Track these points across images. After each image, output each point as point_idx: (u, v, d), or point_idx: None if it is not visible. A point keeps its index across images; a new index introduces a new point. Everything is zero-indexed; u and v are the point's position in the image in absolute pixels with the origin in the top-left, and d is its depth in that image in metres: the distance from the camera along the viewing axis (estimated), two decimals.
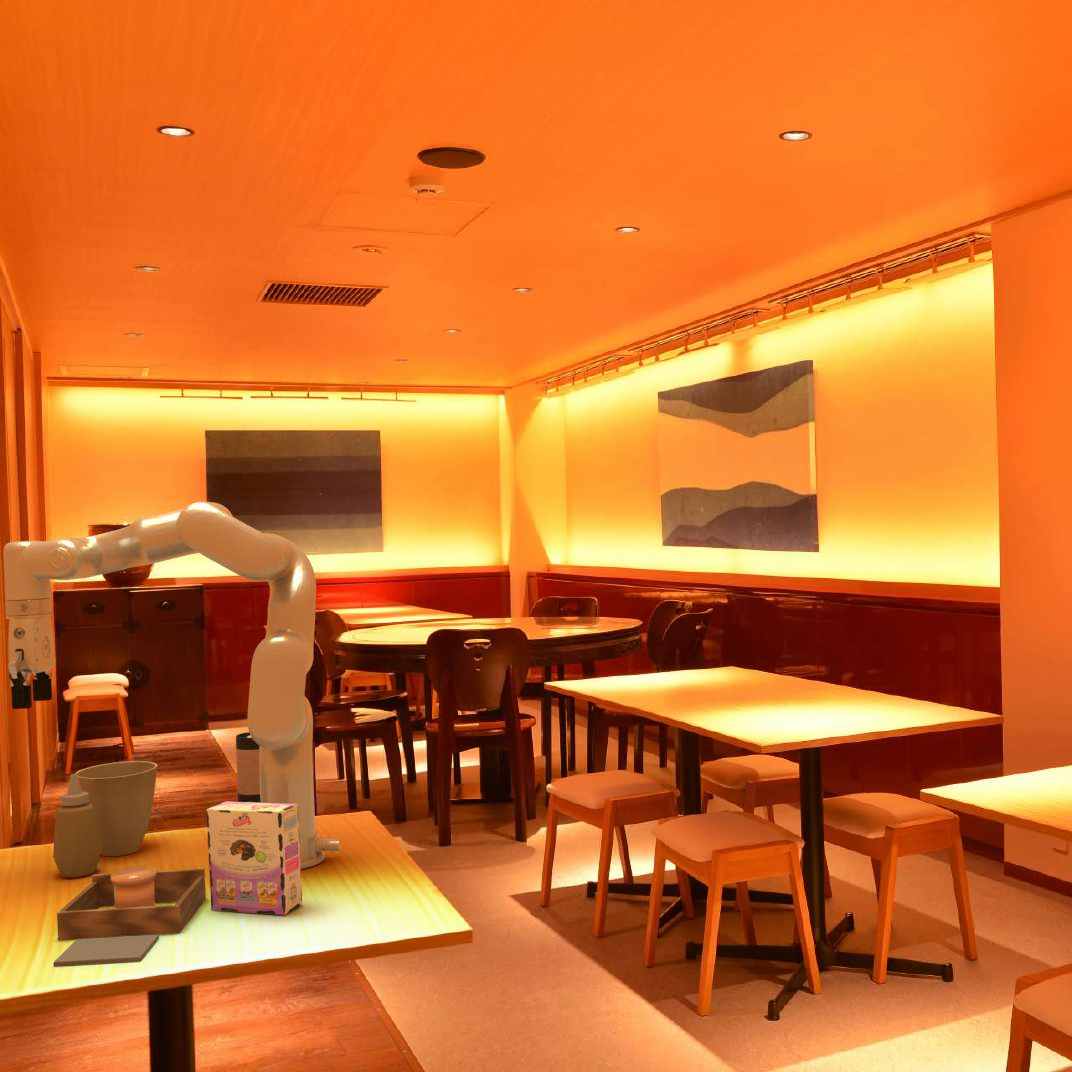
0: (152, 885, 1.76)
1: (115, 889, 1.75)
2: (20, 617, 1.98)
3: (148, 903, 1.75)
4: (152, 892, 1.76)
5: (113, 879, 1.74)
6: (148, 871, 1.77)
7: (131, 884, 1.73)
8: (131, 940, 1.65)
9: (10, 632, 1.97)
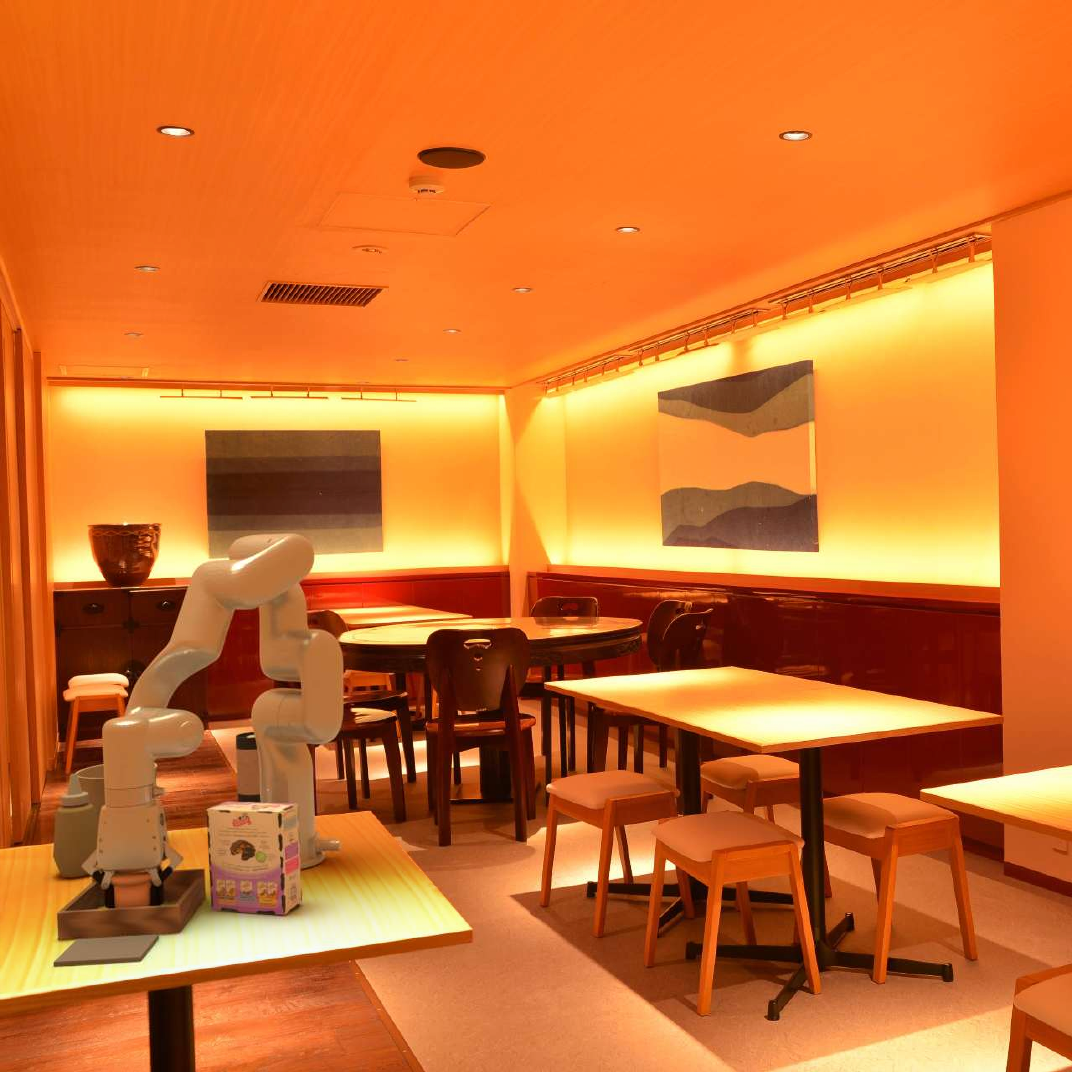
0: (152, 885, 1.76)
1: (115, 889, 1.75)
2: (154, 802, 1.77)
3: (147, 903, 1.75)
4: None
5: (112, 879, 1.74)
6: None
7: (131, 884, 1.73)
8: (131, 940, 1.65)
9: (157, 820, 1.75)
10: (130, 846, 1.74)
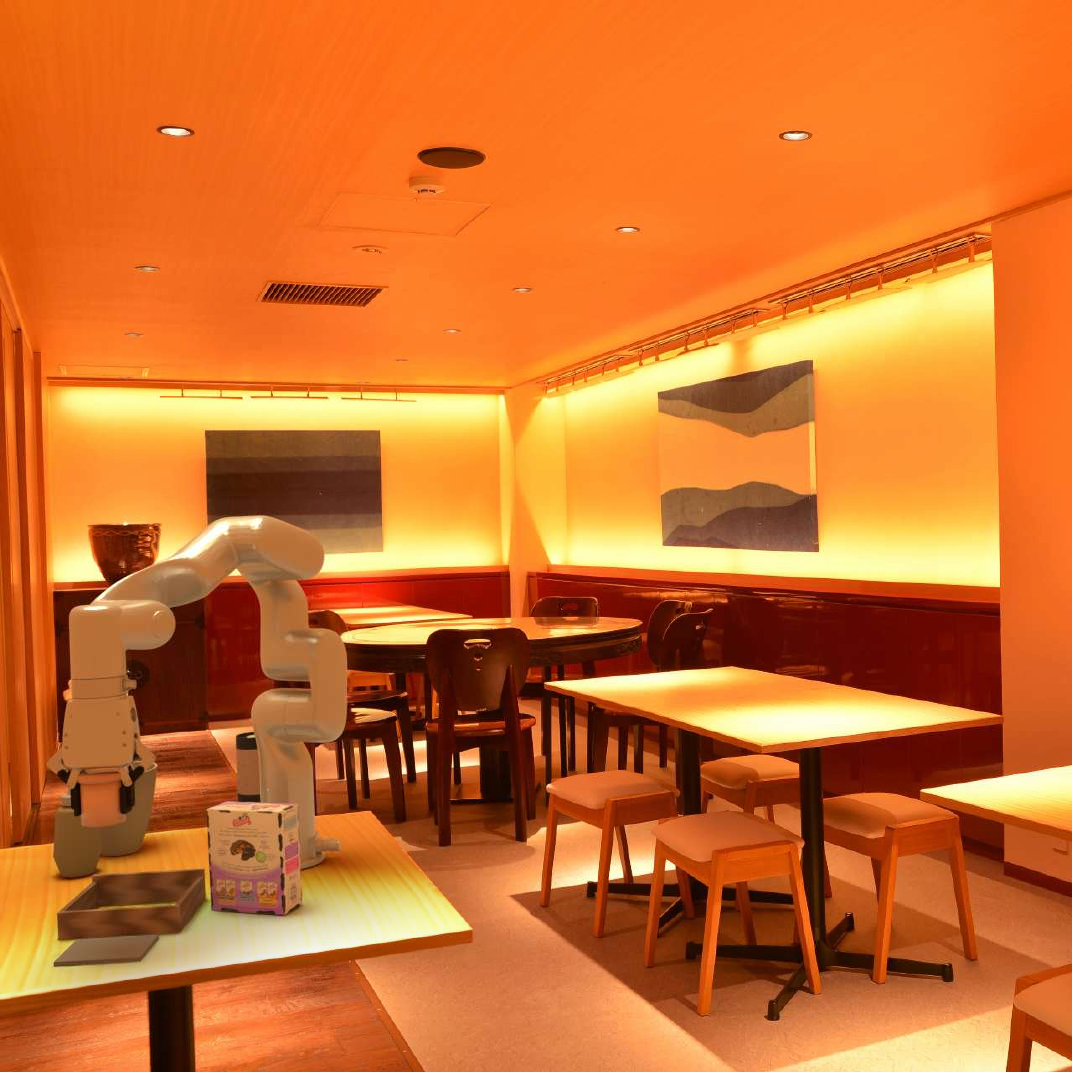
0: (122, 785, 1.63)
1: (81, 788, 1.61)
2: (125, 696, 1.63)
3: (117, 804, 1.62)
4: None
5: (79, 777, 1.61)
6: None
7: (98, 782, 1.60)
8: (131, 940, 1.65)
9: (127, 714, 1.62)
10: (98, 742, 1.61)
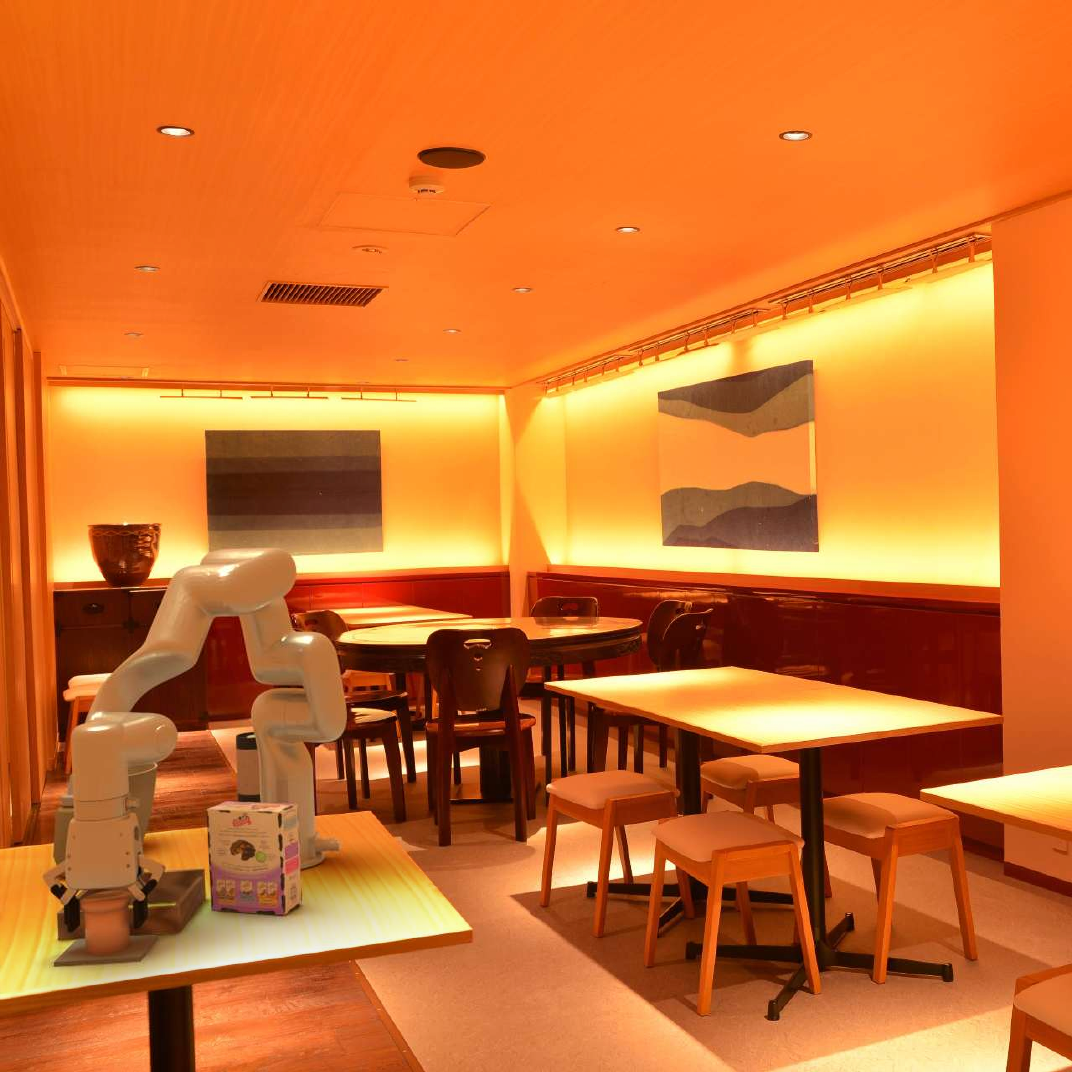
0: (126, 911, 1.62)
1: (85, 916, 1.60)
2: (128, 815, 1.62)
3: (121, 931, 1.61)
4: (126, 919, 1.62)
5: (83, 905, 1.60)
6: (122, 896, 1.63)
7: (103, 911, 1.59)
8: (131, 940, 1.65)
9: (131, 835, 1.61)
10: (101, 863, 1.60)
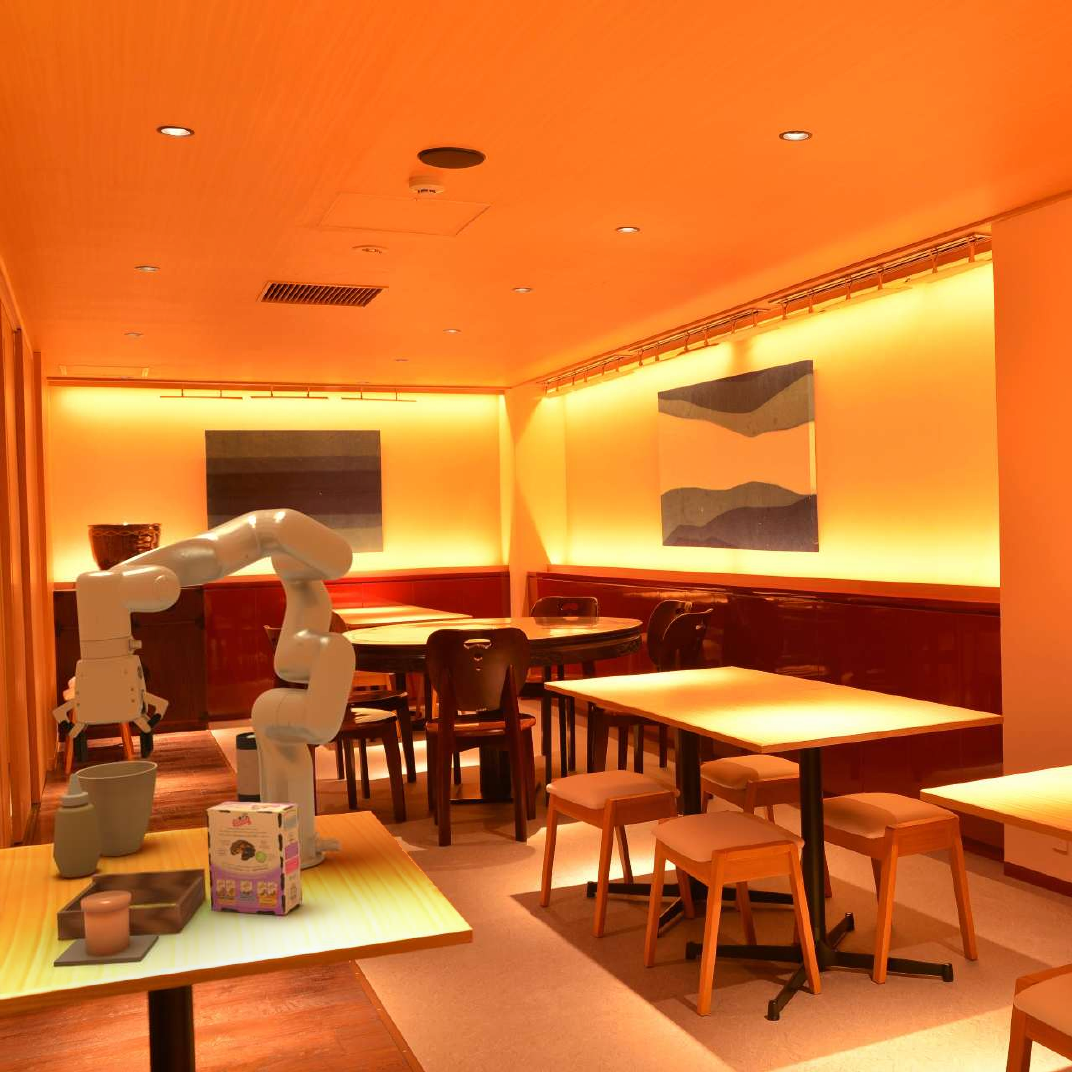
0: (126, 911, 1.62)
1: (85, 916, 1.60)
2: (131, 655, 1.75)
3: (121, 931, 1.61)
4: (126, 919, 1.62)
5: (83, 905, 1.60)
6: (122, 896, 1.63)
7: (103, 911, 1.59)
8: (131, 940, 1.65)
9: (135, 672, 1.73)
10: (108, 698, 1.72)
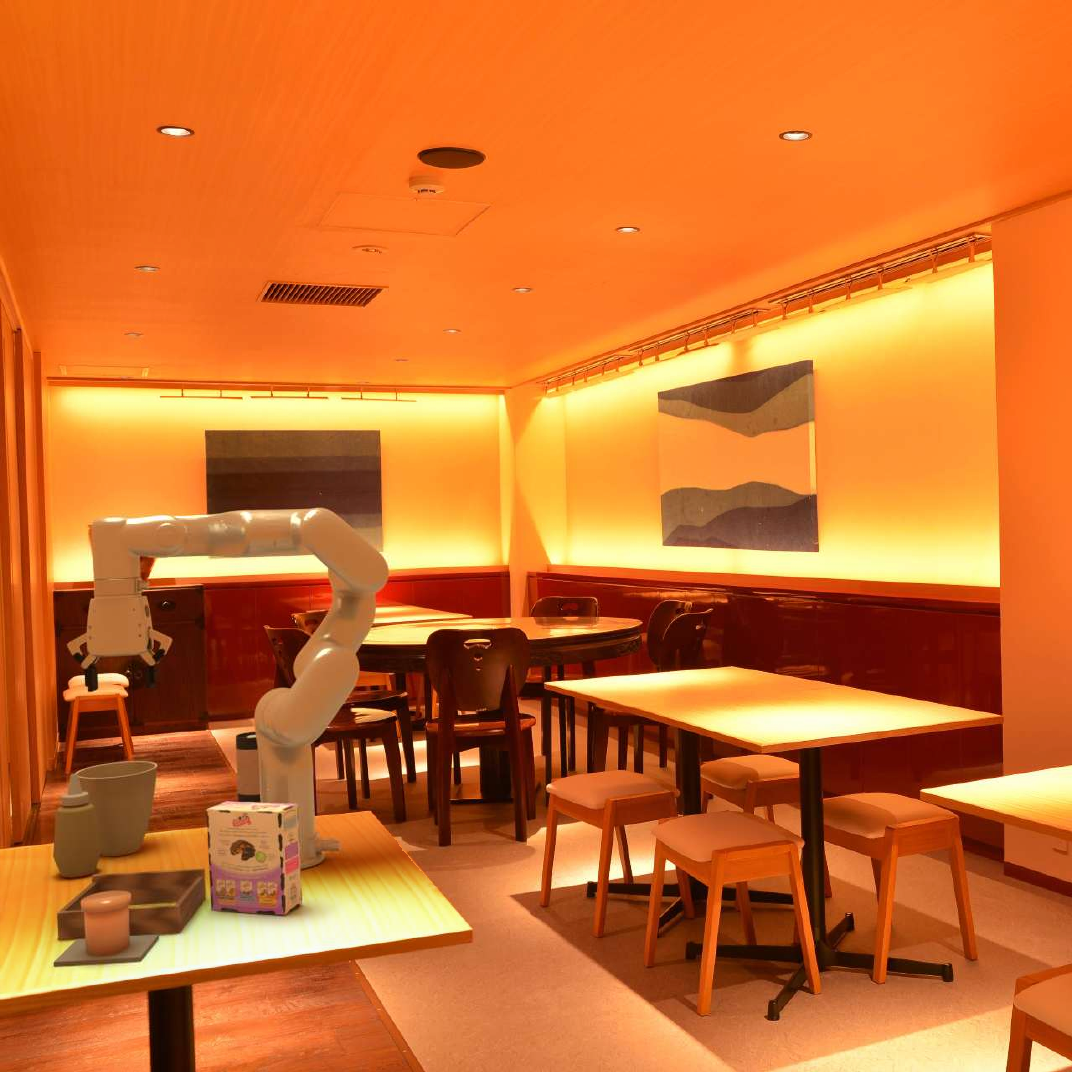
0: (126, 911, 1.62)
1: (85, 916, 1.60)
2: (140, 595, 1.91)
3: (121, 931, 1.61)
4: (126, 919, 1.62)
5: (83, 905, 1.60)
6: (122, 896, 1.63)
7: (103, 911, 1.59)
8: (131, 940, 1.65)
9: (142, 610, 1.90)
10: (117, 633, 1.89)
